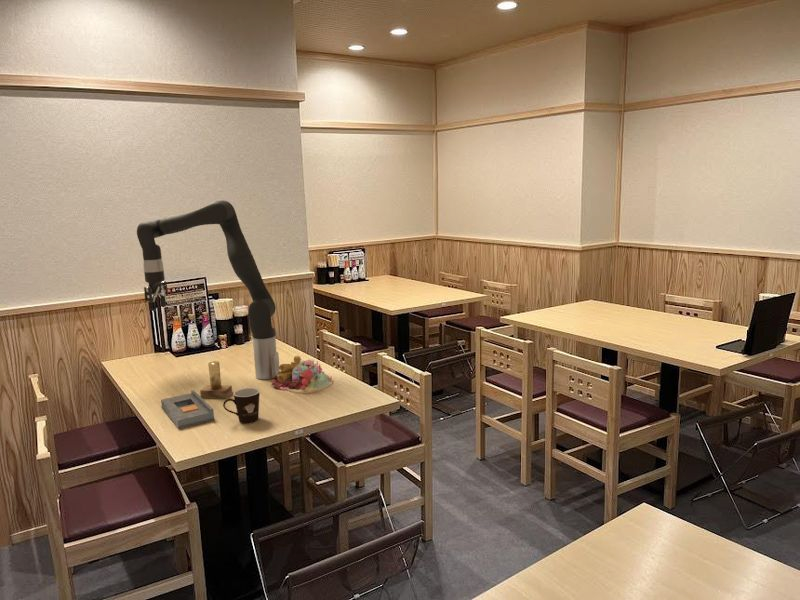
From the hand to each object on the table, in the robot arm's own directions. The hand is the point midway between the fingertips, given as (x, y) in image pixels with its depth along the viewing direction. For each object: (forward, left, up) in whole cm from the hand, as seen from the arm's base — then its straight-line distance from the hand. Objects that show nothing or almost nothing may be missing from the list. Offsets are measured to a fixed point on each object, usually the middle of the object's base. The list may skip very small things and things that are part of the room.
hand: (158, 308), depth 252 cm
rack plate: (-30, +41, -29) cm, 59 cm away
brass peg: (-33, +23, -26) cm, 48 cm away
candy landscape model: (-63, +7, -30) cm, 70 cm away
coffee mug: (-53, +46, -29) cm, 76 cm away
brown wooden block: (-33, +23, -29) cm, 50 cm away
